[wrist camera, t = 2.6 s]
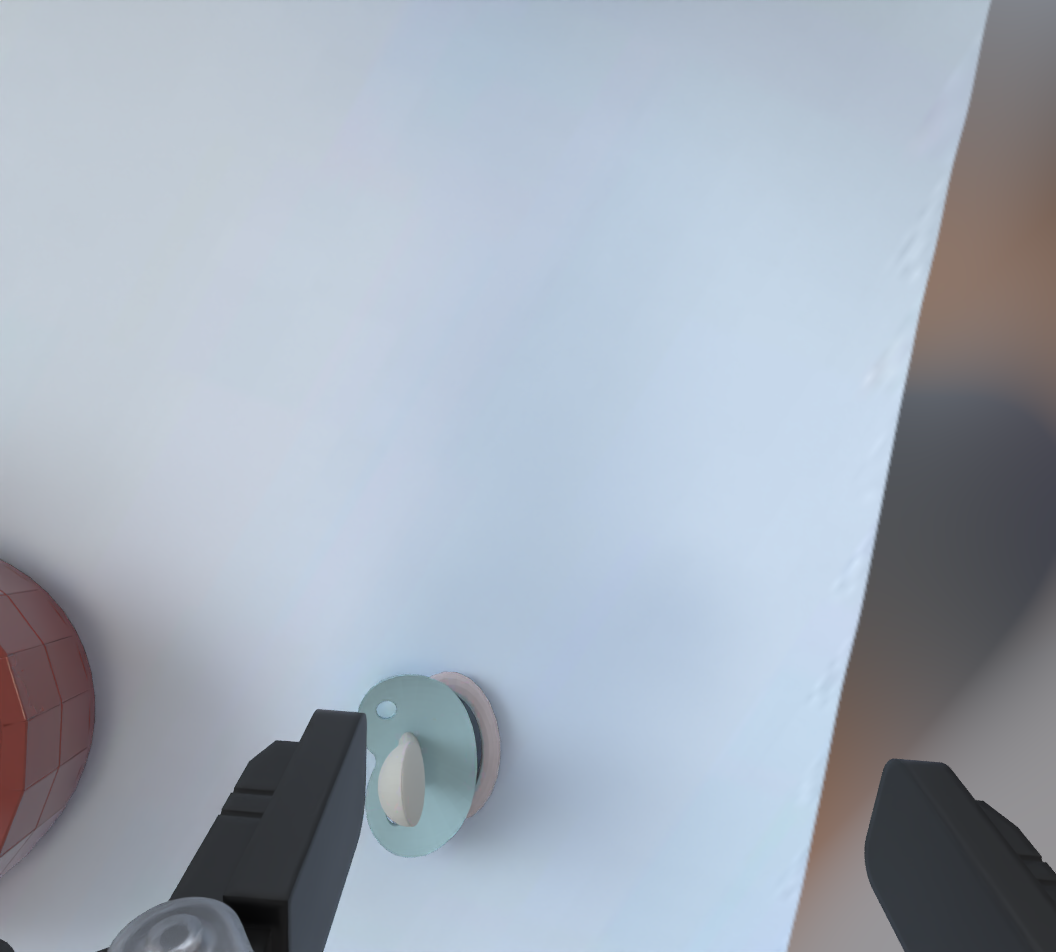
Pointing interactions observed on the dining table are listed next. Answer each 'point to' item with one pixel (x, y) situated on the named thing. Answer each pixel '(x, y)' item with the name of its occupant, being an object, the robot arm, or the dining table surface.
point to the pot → (38, 713)
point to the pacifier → (427, 760)
